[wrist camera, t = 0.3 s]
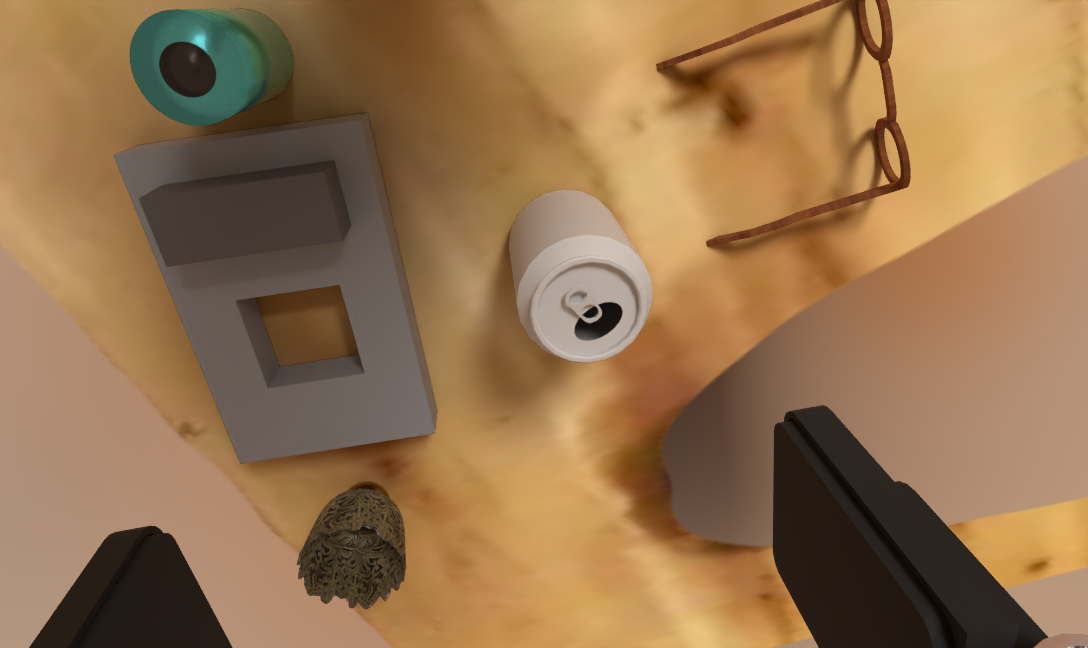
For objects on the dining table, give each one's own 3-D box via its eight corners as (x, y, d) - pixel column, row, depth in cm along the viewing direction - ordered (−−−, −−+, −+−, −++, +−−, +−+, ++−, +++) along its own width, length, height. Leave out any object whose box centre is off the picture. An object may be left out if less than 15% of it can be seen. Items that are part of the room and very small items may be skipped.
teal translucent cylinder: (190, 15, 37) (109, 18, 29) (278, 3, 37) (223, 2, 29) (220, 106, 39) (153, 133, 31) (303, 94, 39) (258, 118, 31)
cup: (307, 515, 53) (281, 595, 46) (337, 446, 51) (314, 519, 43) (395, 540, 55) (383, 620, 48) (428, 475, 53) (421, 549, 45)
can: (550, 309, 47) (572, 399, 36) (485, 230, 44) (488, 303, 33) (636, 249, 46) (686, 324, 35) (576, 163, 43) (610, 215, 32)
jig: (137, 145, 40) (84, 166, 34) (367, 112, 40) (351, 129, 35) (253, 438, 50) (226, 491, 44) (437, 410, 50) (432, 459, 45)
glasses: (883, 173, 46) (928, 191, 41) (705, 244, 47) (730, 269, 42) (854, -26, 40) (902, -30, 35) (652, 60, 41) (673, 66, 36)
